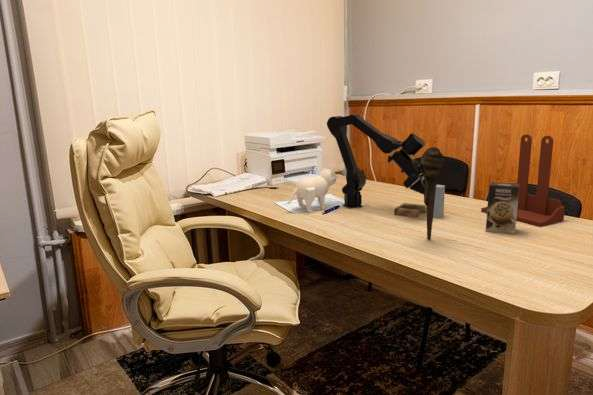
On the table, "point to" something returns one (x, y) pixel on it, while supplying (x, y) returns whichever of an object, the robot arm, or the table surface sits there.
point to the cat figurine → (314, 189)
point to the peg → (439, 202)
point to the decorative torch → (430, 181)
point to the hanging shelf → (537, 206)
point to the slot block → (409, 210)
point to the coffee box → (502, 207)
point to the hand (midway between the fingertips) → (433, 193)
